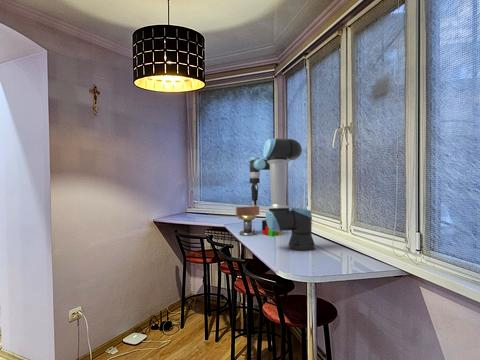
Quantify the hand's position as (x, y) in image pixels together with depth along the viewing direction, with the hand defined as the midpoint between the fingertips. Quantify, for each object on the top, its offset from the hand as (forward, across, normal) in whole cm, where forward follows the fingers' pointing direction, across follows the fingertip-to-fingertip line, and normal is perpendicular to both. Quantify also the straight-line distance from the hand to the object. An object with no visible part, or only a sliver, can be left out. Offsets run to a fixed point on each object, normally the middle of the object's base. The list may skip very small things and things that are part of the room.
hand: (254, 209), depth 233 cm
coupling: (+6, -7, +7) cm, 12 cm away
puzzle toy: (+17, -11, -10) cm, 23 cm away
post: (+17, -7, +7) cm, 20 cm away
